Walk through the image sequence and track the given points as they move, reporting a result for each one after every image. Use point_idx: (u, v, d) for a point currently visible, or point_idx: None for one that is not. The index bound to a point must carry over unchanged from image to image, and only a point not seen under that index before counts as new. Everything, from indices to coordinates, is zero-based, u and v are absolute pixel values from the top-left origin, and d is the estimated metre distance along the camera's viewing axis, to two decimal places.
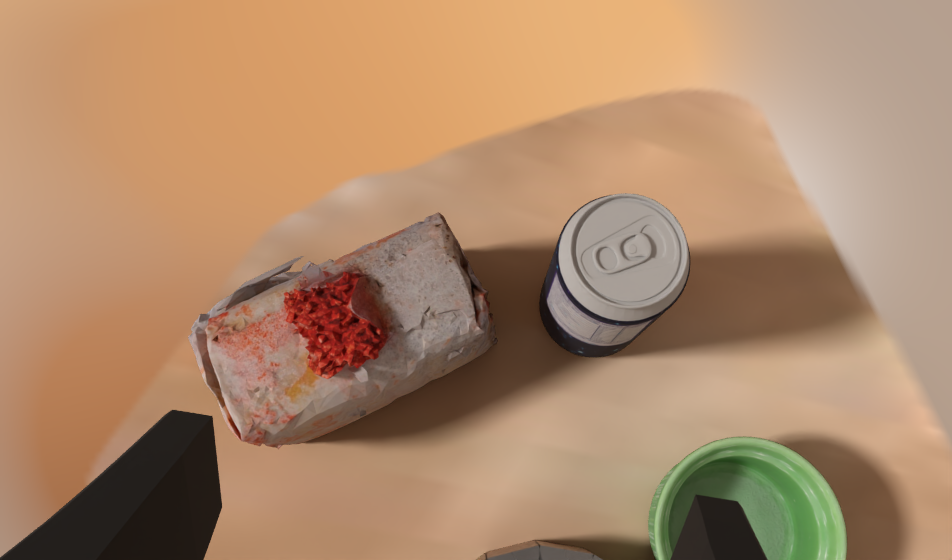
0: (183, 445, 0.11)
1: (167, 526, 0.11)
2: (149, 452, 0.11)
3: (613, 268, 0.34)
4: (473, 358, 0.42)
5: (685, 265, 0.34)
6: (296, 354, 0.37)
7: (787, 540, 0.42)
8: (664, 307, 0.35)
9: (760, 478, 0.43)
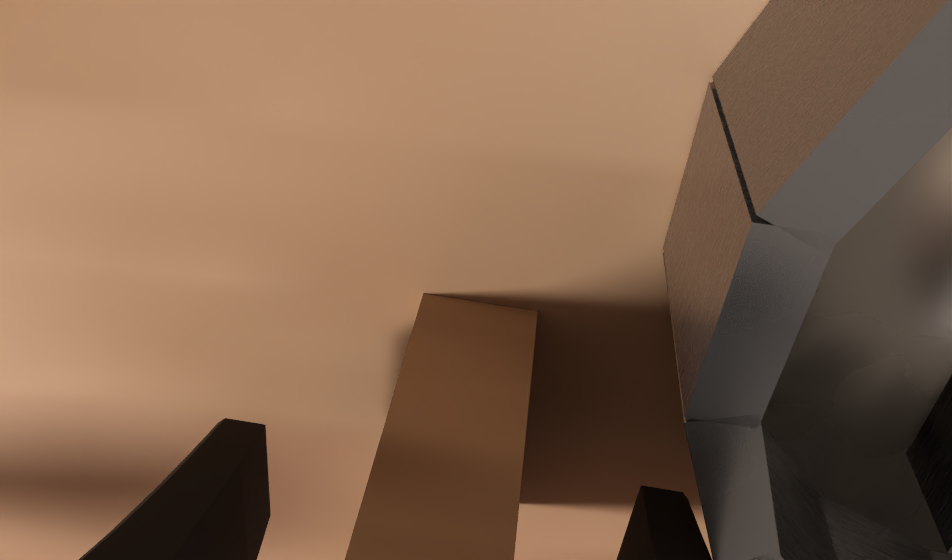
0: (239, 454, 0.11)
1: (224, 536, 0.11)
2: (207, 461, 0.11)
3: None
4: None
5: None
6: None
7: None
8: None
9: None
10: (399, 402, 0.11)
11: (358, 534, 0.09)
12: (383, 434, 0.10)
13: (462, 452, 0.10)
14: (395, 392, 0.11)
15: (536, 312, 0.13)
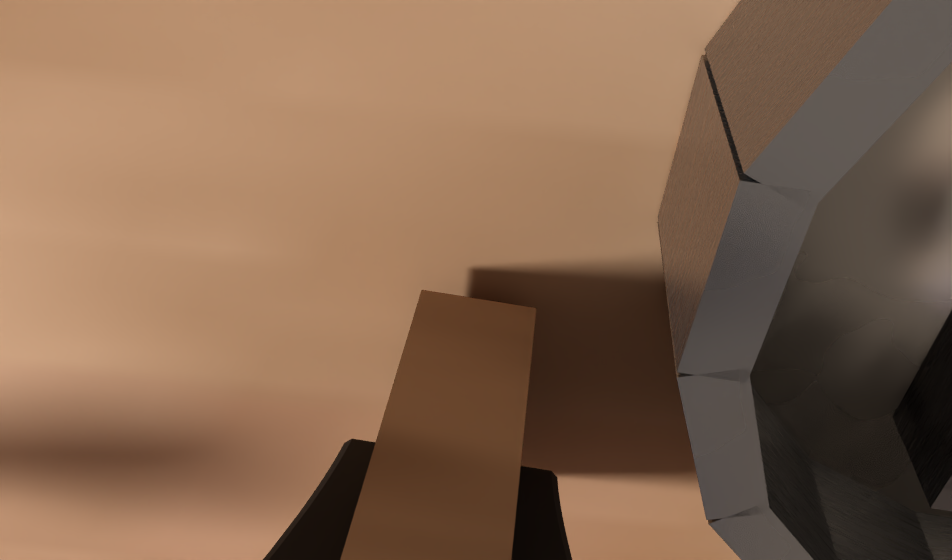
0: None
1: None
2: (345, 484, 0.11)
3: None
4: None
5: None
6: None
7: None
8: None
9: None
10: (397, 398, 0.11)
11: (354, 530, 0.09)
12: (381, 430, 0.10)
13: (460, 449, 0.10)
14: (393, 388, 0.11)
15: (535, 309, 0.13)
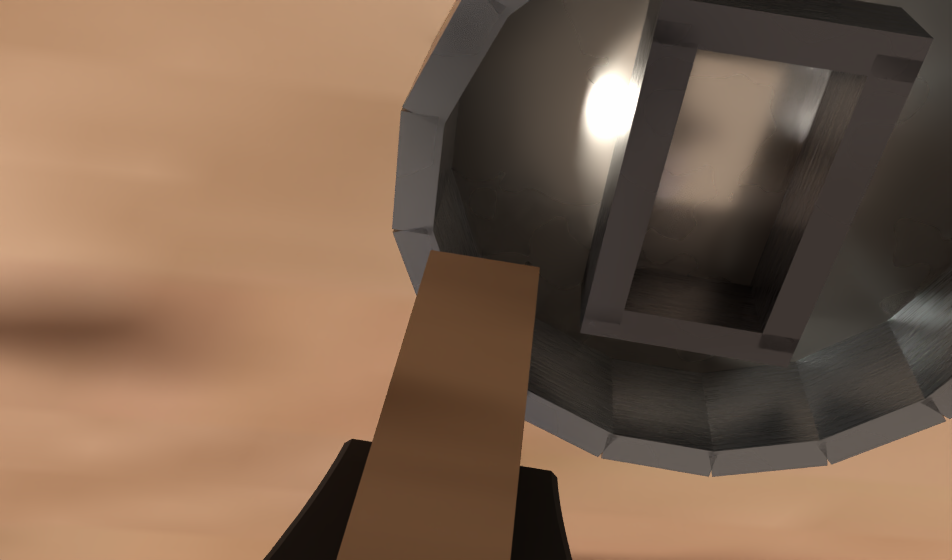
0: None
1: None
2: (346, 484, 0.11)
3: None
4: None
5: None
6: None
7: None
8: None
9: None
10: (409, 346, 0.12)
11: (372, 460, 0.10)
12: (394, 374, 0.11)
13: (469, 391, 0.11)
14: (405, 337, 0.12)
15: (538, 268, 0.14)
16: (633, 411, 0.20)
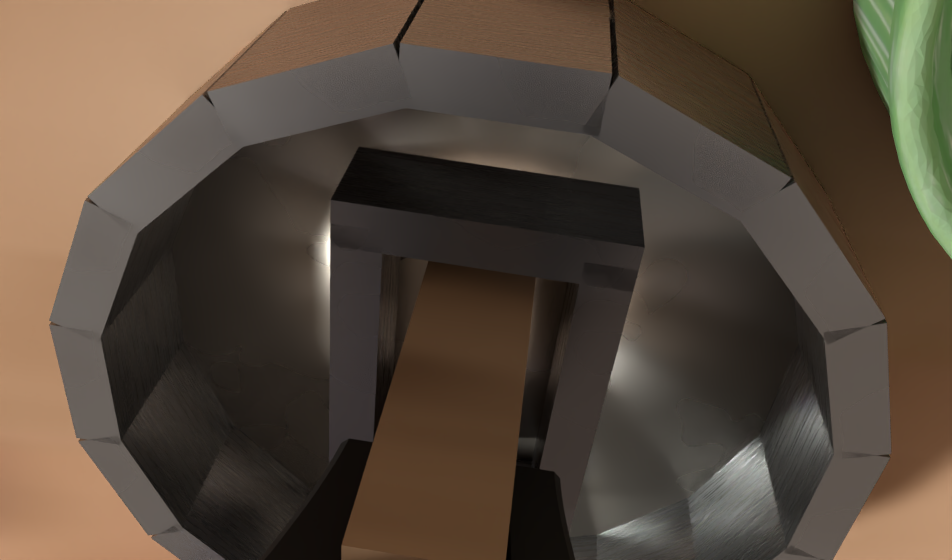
0: None
1: None
2: (342, 484, 0.11)
3: None
4: None
5: None
6: None
7: None
8: None
9: None
10: (416, 325, 0.12)
11: (383, 425, 0.11)
12: (402, 349, 0.12)
13: (472, 364, 0.12)
14: (412, 316, 0.13)
15: None
16: None
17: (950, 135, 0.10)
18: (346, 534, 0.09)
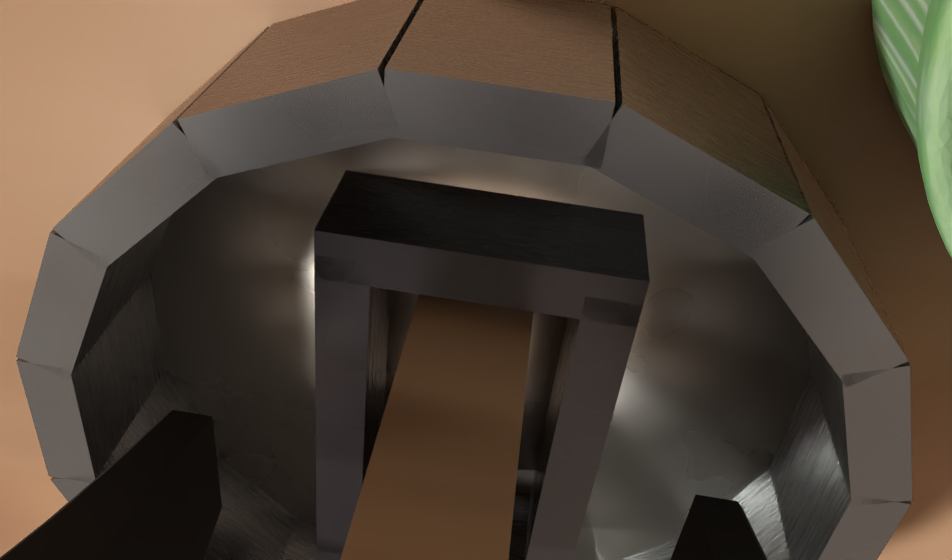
0: (183, 445, 0.11)
1: (167, 526, 0.11)
2: (149, 452, 0.11)
3: None
4: None
5: None
6: None
7: None
8: None
9: None
10: (406, 363, 0.12)
11: (369, 480, 0.10)
12: (391, 392, 0.11)
13: (466, 408, 0.11)
14: (402, 354, 0.12)
15: None
16: None
17: None
18: None
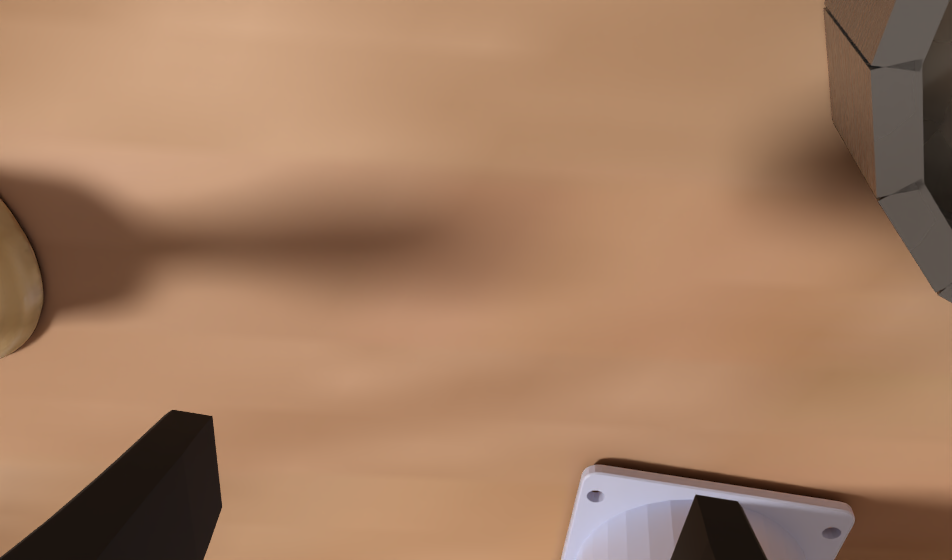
0: (183, 445, 0.11)
1: (167, 526, 0.11)
2: (149, 452, 0.11)
3: None
4: None
5: None
6: None
7: None
8: None
9: None
10: None
11: None
12: None
13: None
14: None
15: None
16: None
17: None
18: None
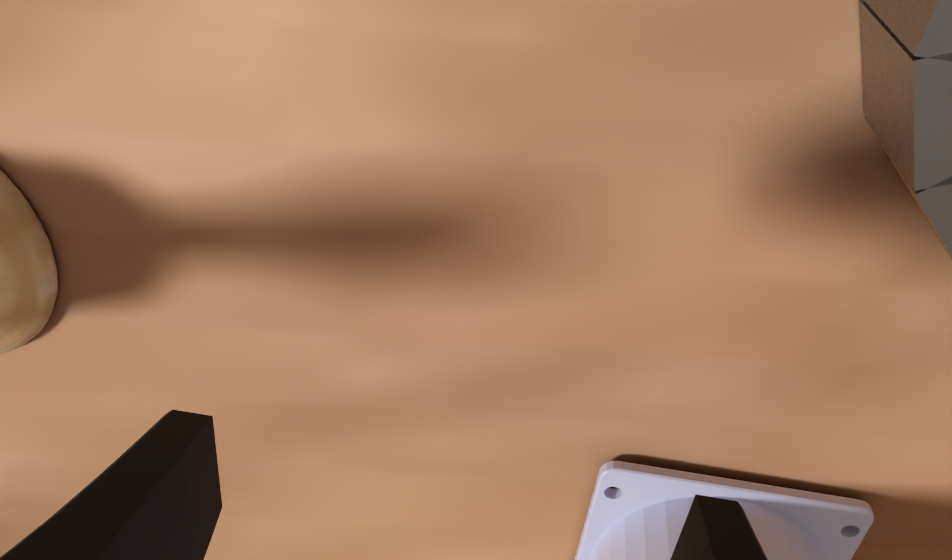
0: (183, 445, 0.11)
1: (167, 526, 0.11)
2: (149, 452, 0.11)
3: None
4: None
5: None
6: None
7: None
8: None
9: None
10: None
11: None
12: None
13: None
14: None
15: None
16: None
17: None
18: None
